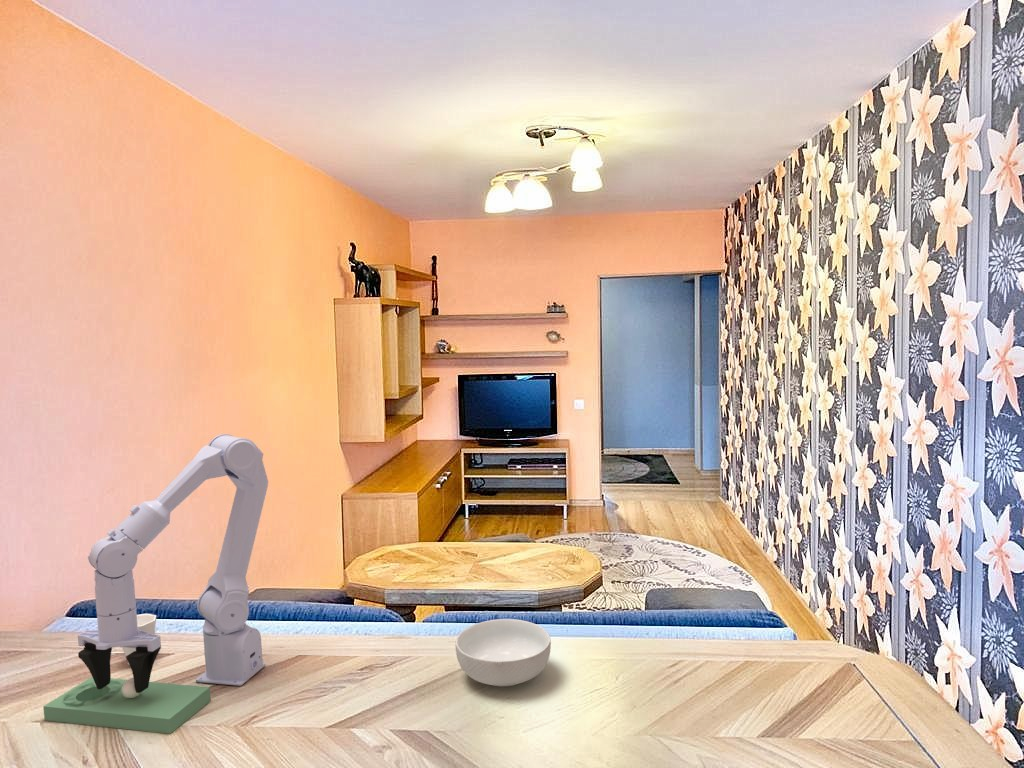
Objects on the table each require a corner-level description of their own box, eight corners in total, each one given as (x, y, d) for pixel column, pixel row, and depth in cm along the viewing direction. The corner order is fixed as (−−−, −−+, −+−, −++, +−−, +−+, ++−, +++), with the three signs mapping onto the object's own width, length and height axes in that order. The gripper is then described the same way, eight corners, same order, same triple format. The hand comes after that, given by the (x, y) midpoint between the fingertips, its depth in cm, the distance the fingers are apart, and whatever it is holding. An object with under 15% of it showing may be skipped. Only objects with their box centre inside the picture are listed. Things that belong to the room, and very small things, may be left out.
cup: (125, 673, 131) (121, 631, 131) (110, 656, 138) (107, 616, 138) (165, 660, 136) (162, 619, 135) (149, 644, 143) (146, 606, 143)
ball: (148, 692, 119) (146, 674, 118) (134, 702, 115) (132, 684, 115) (132, 691, 119) (130, 673, 119) (117, 701, 116) (116, 682, 116)
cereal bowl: (440, 691, 120) (438, 651, 120) (480, 649, 136) (478, 614, 135) (532, 708, 114) (531, 666, 114) (563, 662, 129) (562, 625, 129)
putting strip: (210, 700, 120) (209, 687, 120) (170, 733, 110) (169, 719, 110) (93, 689, 125) (91, 676, 125) (44, 720, 116) (43, 706, 115)
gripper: (60, 616, 114) (66, 696, 115) (136, 621, 111) (142, 704, 112) (94, 600, 121) (100, 676, 122) (167, 604, 118) (172, 682, 119)
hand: (122, 688), depth 118 cm, fingers open, 7 cm apart
